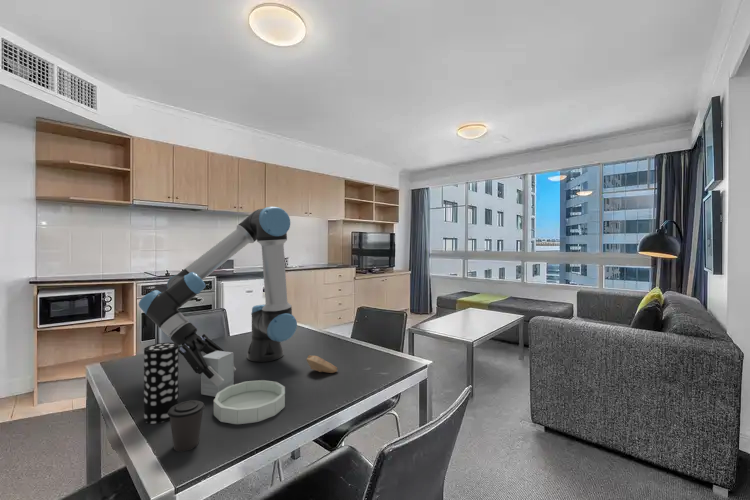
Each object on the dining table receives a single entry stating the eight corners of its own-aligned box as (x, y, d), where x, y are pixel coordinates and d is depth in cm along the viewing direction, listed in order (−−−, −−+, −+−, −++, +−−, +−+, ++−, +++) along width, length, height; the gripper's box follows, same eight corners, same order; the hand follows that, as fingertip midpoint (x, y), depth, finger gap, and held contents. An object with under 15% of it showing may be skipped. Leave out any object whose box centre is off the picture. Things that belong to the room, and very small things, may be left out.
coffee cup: (159, 449, 81) (159, 408, 81) (190, 432, 88) (190, 394, 88) (182, 458, 78) (182, 415, 78) (212, 440, 85) (212, 400, 85)
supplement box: (234, 388, 115) (234, 352, 115) (217, 398, 108) (217, 359, 108) (217, 385, 118) (217, 349, 118) (200, 394, 111) (200, 356, 111)
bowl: (243, 389, 115) (243, 377, 115) (296, 396, 110) (296, 384, 110) (198, 417, 96) (198, 404, 96) (260, 428, 91) (260, 413, 91)
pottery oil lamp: (336, 377, 126) (336, 358, 126) (304, 377, 126) (304, 358, 126) (338, 368, 135) (338, 351, 135) (308, 368, 135) (308, 351, 135)
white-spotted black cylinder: (154, 409, 100) (154, 342, 100) (183, 408, 101) (183, 342, 101) (137, 424, 92) (137, 351, 92) (169, 423, 93) (169, 351, 93)
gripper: (189, 329, 124) (232, 373, 124) (150, 347, 102) (202, 400, 102) (204, 315, 124) (247, 358, 124) (168, 330, 102) (220, 382, 102)
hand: (227, 377), depth 113 cm, fingers closed on supplement box, 9 cm apart
